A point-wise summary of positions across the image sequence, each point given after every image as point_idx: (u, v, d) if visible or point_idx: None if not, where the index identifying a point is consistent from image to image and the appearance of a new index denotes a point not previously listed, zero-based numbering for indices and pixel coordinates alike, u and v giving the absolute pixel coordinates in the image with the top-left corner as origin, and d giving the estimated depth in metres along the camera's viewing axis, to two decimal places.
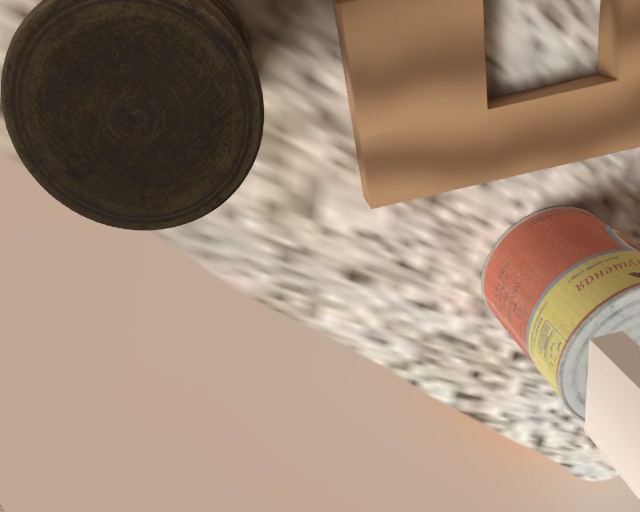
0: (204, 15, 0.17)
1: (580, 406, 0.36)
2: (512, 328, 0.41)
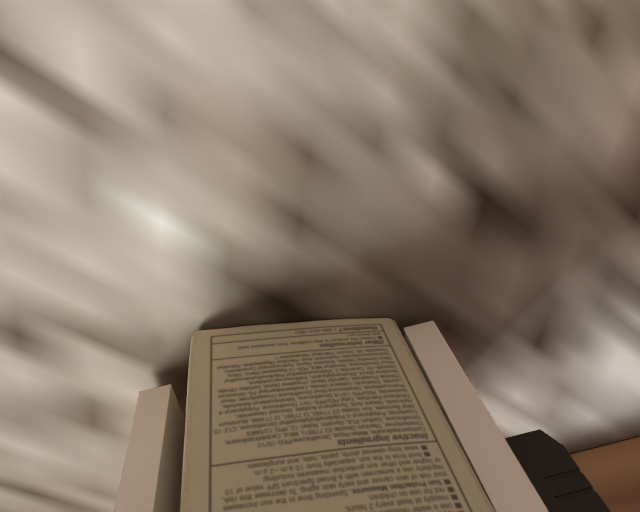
0: None
1: None
2: None
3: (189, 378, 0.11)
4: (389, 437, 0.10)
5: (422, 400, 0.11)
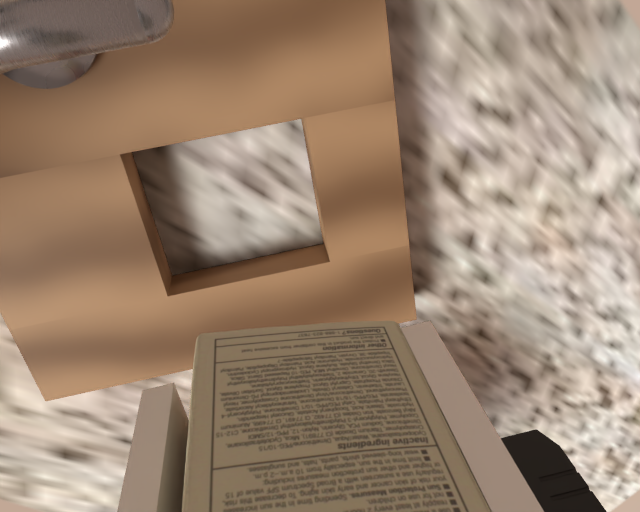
0: None
1: None
2: None
3: (193, 381, 0.11)
4: (389, 441, 0.10)
5: (423, 404, 0.11)
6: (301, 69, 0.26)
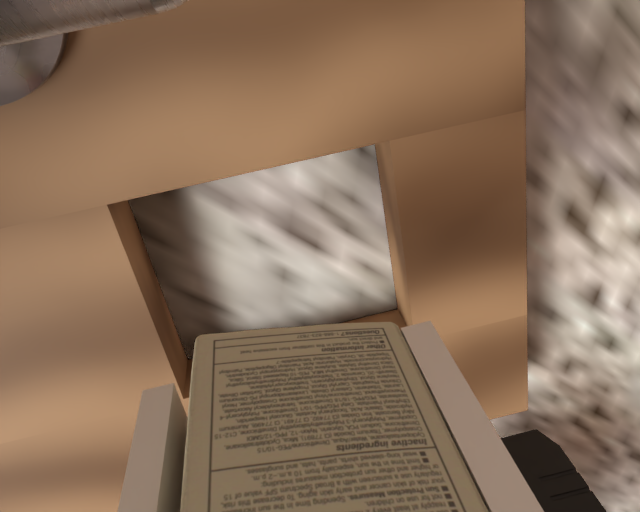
0: None
1: None
2: None
3: (191, 383, 0.11)
4: (388, 443, 0.10)
5: (422, 405, 0.11)
6: (387, 67, 0.16)
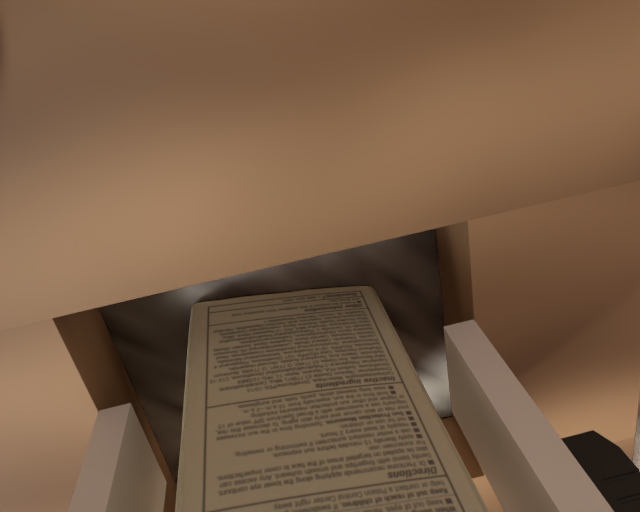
0: None
1: None
2: None
3: (189, 341, 0.13)
4: (361, 380, 0.11)
5: (392, 350, 0.12)
6: (471, 117, 0.11)
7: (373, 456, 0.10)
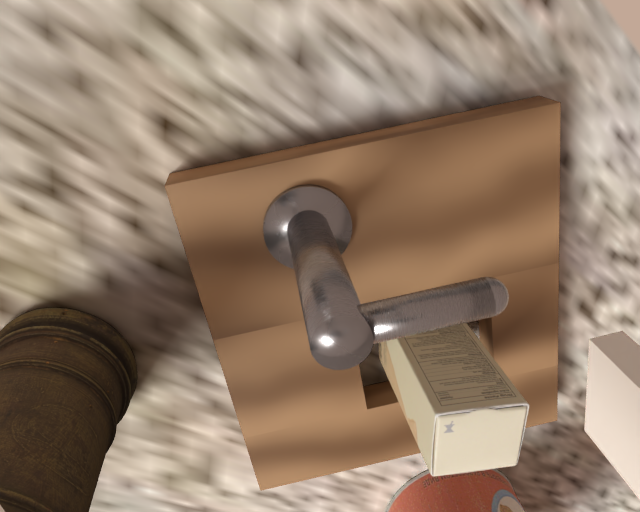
0: None
1: None
2: None
3: None
4: (454, 331, 0.34)
5: None
6: (491, 245, 0.34)
7: (462, 350, 0.32)
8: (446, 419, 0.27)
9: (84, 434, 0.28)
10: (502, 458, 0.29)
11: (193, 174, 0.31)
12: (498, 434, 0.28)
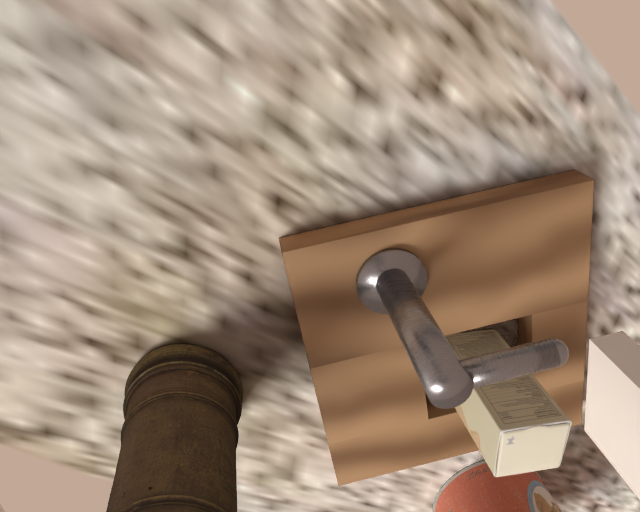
0: None
1: None
2: None
3: None
4: None
5: None
6: (534, 289, 0.41)
7: None
8: (509, 434, 0.36)
9: (227, 450, 0.36)
10: (549, 462, 0.37)
11: (301, 240, 0.38)
12: (547, 444, 0.36)
